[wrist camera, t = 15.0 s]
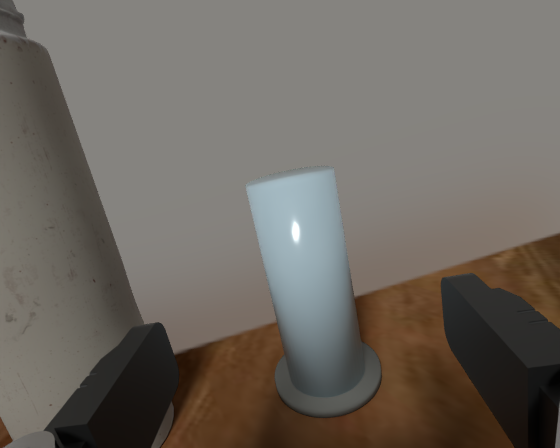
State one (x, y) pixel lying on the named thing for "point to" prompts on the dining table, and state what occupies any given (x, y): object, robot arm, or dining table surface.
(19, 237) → the thermos bottle
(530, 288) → the dining table surface
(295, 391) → the coaster
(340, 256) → the tall pale blue cylinder
